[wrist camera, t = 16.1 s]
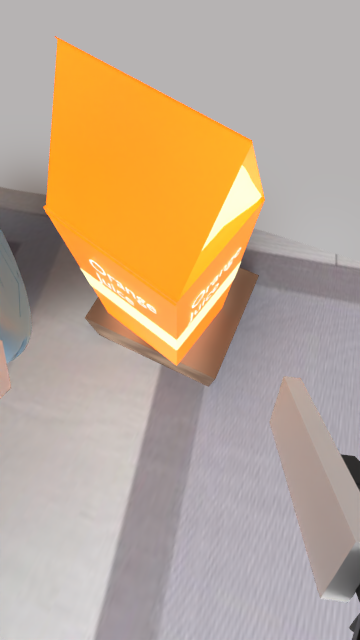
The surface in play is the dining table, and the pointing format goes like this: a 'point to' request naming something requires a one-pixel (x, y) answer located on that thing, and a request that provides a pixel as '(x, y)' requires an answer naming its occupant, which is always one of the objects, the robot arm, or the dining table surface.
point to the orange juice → (148, 199)
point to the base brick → (208, 347)
